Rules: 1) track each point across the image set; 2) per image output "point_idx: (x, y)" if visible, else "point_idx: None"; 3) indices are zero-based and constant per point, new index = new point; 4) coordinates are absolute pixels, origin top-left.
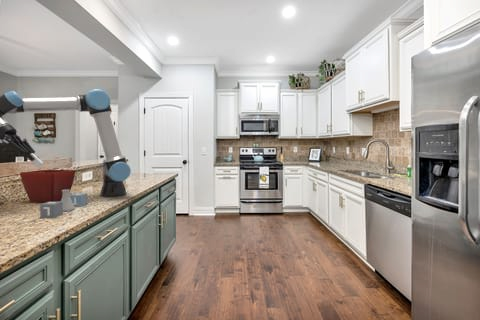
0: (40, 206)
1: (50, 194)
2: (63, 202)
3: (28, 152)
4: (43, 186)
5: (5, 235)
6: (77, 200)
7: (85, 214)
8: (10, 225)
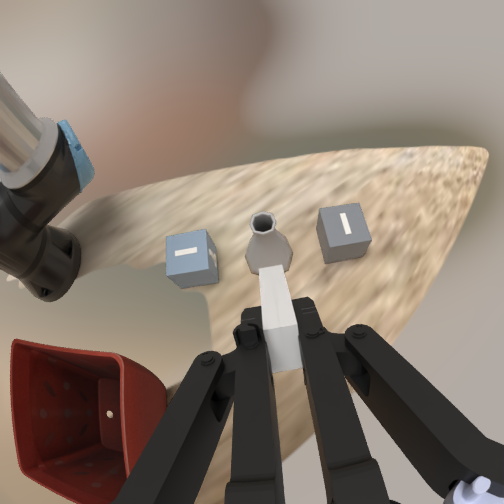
0: (370, 241)
1: (160, 384)
2: (282, 240)
3: (320, 329)
4: (151, 411)
5: (465, 216)
6: (211, 248)
7: (302, 178)
8: (430, 265)
